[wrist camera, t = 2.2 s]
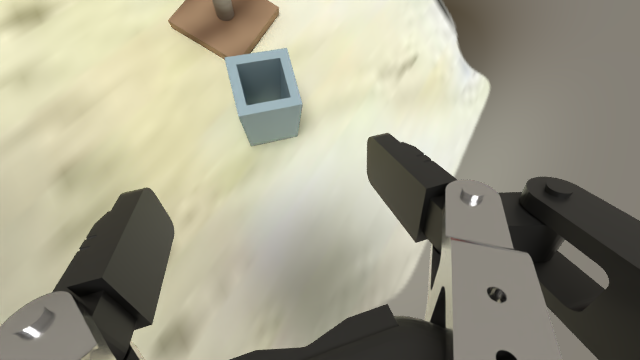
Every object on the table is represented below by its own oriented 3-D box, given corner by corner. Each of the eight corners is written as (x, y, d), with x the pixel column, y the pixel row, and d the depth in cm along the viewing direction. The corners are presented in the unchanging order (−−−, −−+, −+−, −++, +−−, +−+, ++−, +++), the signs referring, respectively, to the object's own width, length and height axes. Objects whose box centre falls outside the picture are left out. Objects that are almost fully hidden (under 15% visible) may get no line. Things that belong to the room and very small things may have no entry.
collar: (251, 146, 32) (238, 116, 23) (240, 102, 33) (224, 57, 24) (297, 136, 33) (302, 104, 24) (286, 93, 34) (286, 48, 25)
